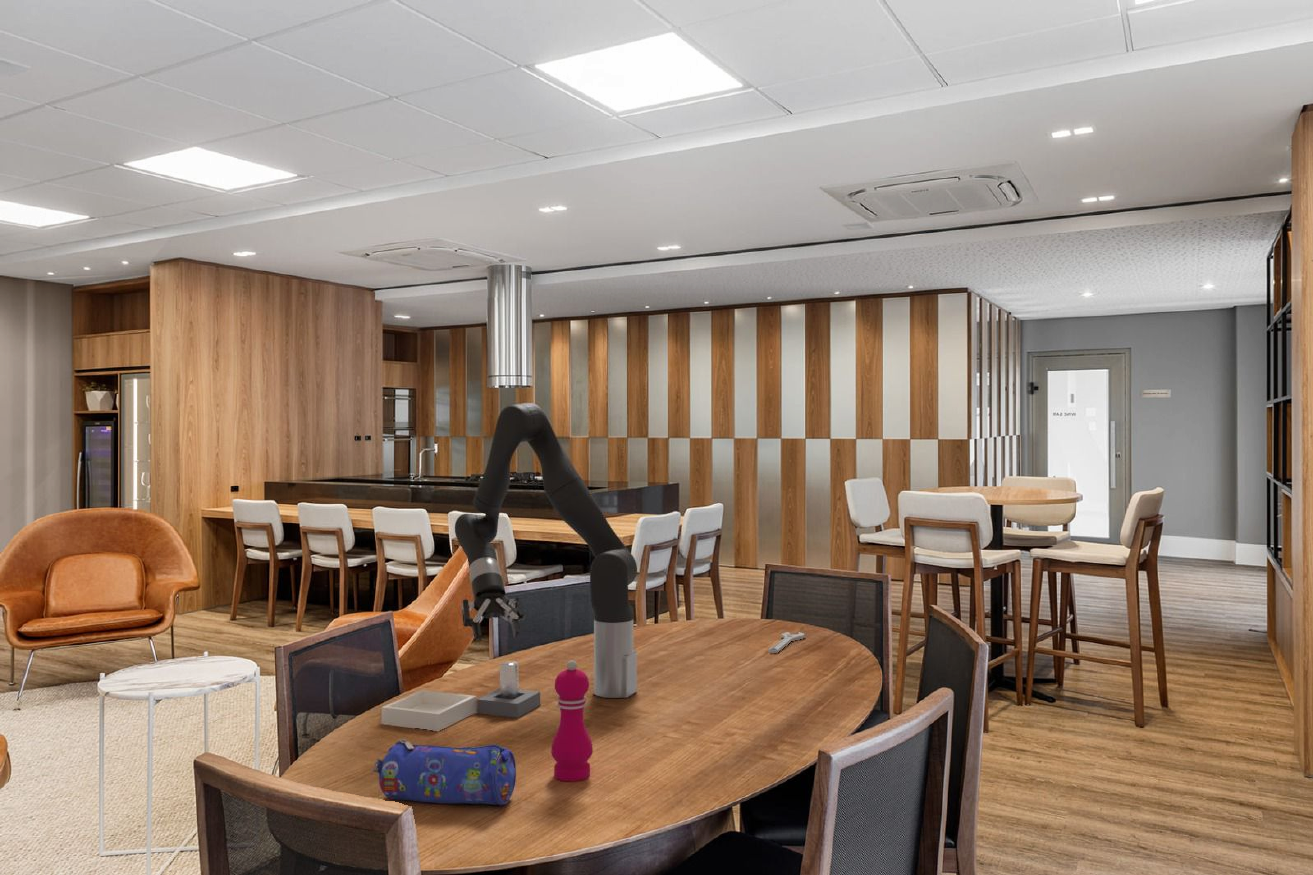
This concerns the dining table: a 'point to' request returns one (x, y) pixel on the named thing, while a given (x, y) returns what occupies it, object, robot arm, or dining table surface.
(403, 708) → the tray
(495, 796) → the pencil case
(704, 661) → the dining table surface
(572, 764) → the pepper mill
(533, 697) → the socket block
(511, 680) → the pin
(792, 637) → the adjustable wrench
